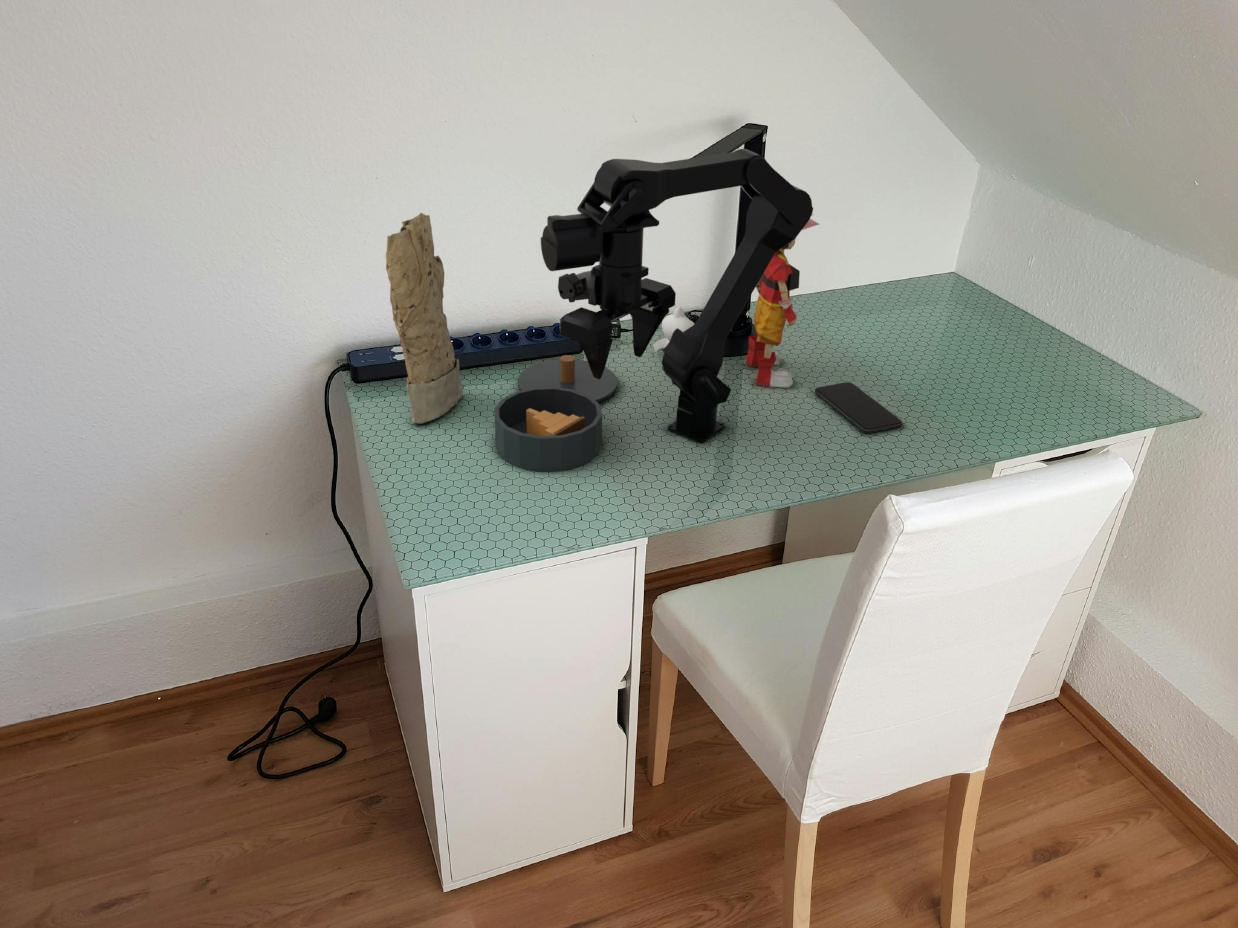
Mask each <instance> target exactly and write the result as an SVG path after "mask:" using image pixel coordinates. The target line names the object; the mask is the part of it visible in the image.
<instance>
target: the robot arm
mask: <svg viewBox="0 0 1238 928" xmlns="http://www.w3.org/2000/svg"><path fill="white" fill-rule="evenodd" d="M736 187H741V189H742V190H743V192H745V194H747V196H748V197H749V198H750V199H751V201H750V204H749V207H748V208H747V211H746V220H745V233H744V236H743V238H742V240H741V242H740V243H739V245H738V247H737V249H736V250H735V252H734V254H733V256H732V258H731V260H730V261H729V263H728V265H727V267H726V268H725V270H724V272H723V273H722V275H721V278H720V279H719V281H718V282H717V284H716V286H715V288H714V290H713V291H712V293H711V295H710V297H709V298H708V301H707V302H706V304H705V306H704V308H703V309H702V311H701V313H700V314H699V316H698V318H697V320H696V321H695V322H694V325H693V326H691V327H690V328H688V329H687V330H685V331H684V332H682V331H681V330H680V329H678V328H677V329H676V330H675V331H674V332H673V334H672V337H671V339H670V341H669V343H668V344H667V346H666V347H665V348H664V349H663V350H661V352H663V356H662V358H661V366H662V370H663V372H664V374H665V376H667V377H668V378H669V379H670V380H671V384H673V386H676V387H677V388H678V389H679V395H678V397H677V407H676V415H675V416H676V417H675V421H673V422H672V423H669V424H668V425H667V430H668V431H670V432H673V433H675V434H678V435H681V436H683V437H685V438H688V439H689V440H692V441H695V442H698V443H704V442H706V441H708V440H709V439H711V438H712V437H713V436H715V435H716V434H718V433H719V432H721V431H722V430H724V428H725V424H724V423H722V422H720V421H717V418H718V417H717V416H718V406H719V405H720V404H724V403H726V402H727V401H728V400H729V399H728V398H729V396H730V394H731V391H732V389H731V388H730V387H729V386H728V385H727V384H726V383H725V382H724V381H723V380H721V379H720V378H719V377H718V376H719V373H720V371H721V369H722V366H723V363H724V352H725V351H724V350H725V342H726V340H727V337H728V336H729V334H730V332H731V331H732V329H733V327H734V325H735V324H736V322H737V320H738V318H739V316H740V315H741V313H742V311H743V310H744V308H745V307H746V305H747V303H748V301H749V300H750V298H751V296H752V294H753V292H754V291H755V289H756V285H757V284H758V282H759V280H760V278H761V277H762V275H763V273H764V272H765V270H766V268H767V266H768V265H769V263H770V261H771V259H772V258H773V256H774V254H775V253H776V252H777V251H778V250H780V249H781V248H783V247H784V246H786V245H787V244H789V243H790V242H792V241H793V240H794V239H795V238H796V239H797V237H798V236H799V234H800V233H801V232H802V231H803V230H802V229H803V228H804V227H805V225H806V224H807V223H808V221H809V220H810V219H811V217H812V216H813V215H812V214H813V212H814V207H813V200H812V198H811V196H810V194H809V193H808V192H807V191H806V190H803V189H802V188H799V187H797V186H796V185H793V184H792V183H790V182H789V180H787V179H786V178H785V177H783V176H782V175H781V174H780V173H779V172H778V171H777V170H775V169H774V167H772V166H771V164H770V163H769V162H768V161H767V159H766V158H765V157H764V156H762V155H760V154H758V153H757V152H754V151H752V150H750V149H747V148H739V149H736V150H734V151H731V152H723V153H719V154H712V155H705V156H698V157H691V158H685V159H679V160H671V161H666V162H653V161H646V160H641V159H631V158H630V159H627V158H611V159H609V160H606V161H604V162H603V163H602V164H601V166H600V167H599V169H598V170H597V171H596V173H595V177H594V181H593V183H592V184H591V186H590V188H589V189H588V191H587V192H586V194H585V195H584V196H583V198H582V199H581V201H580V203H579V205H578V206H577V208H576V210H577V212H578V213H577V214H576V213H574V214H567V215H560V214H555V215H548V216H547V217H546V218H547V219H546V222H547V224H546V225H545V226H544V228H543V231H542V236H541V237H540V250H541V255H542V259H543V262H544V265H545V267H546V268H547V270H548V271H550V272H558V271H565V270H570V269H571V270H572V269H578V268H579V269H580V268H584V267H585V268H586V267H591V269H590V270H586V271H582V272H580V273H577V274H576V273H575V272H572V273H565V274H562V275H560V276H559V277H558V282H557V290H558V294H559V296H560V298H561V299H562V300H567V301H568V302H569V303H575V302H576V301H584V300H585V301H586V300H587V304H588V305H591V306H594V307H595V306H599V309H600V310H598V311H594V310H590V309H588V308H585V307H582V306H581V307H579V308H577V309H574V310H572V311H570V312H568V313H566V314H564V315H562V316H561V318H560V319H559V335H561V336H563V337H566V338H568V339H570V340H572V341H575V342H577V343H578V344H579V345H580V347H581V349H582V351H583V353H584V356H585V358H586V361H588V364H589V366H590V369H591V371H592V374H593V377H594V378H597V379H601V377H602V375H603V372H604V369H605V367H607V362H608V358H609V355H610V351H611V348H612V344H613V341H614V338H611V337H610V336H611V335H612V333H613V323H614V322H616V321H618V320H620V319H622V318H625V317H626V316H629V315H630V317H631V320H632V321H631V323H632V347H633V355H634V356H635V357H637V358H641V357H643V355H644V353H645V352H646V350H647V348H648V346H649V344H650V342H651V341H652V339H653V337H654V336H655V334H656V332H657V330H658V329H659V327H660V326H661V325H662V321H663V319H664V318H665V317H666V316H668V314H669V313H670V308H673V307H675V306H676V295H677V292H675V290H674V288H673V287H672V285H671V284H667V283H665V282H660V281H657V280H654V279H652V278H651V279H650V278H647V276H649V271H650V268H649V267H648V266H645V265H643V253H644V248H643V247H644V229H646V228H654V227H658V226H659V225H660V220H659V219H657V218H656V217H655V216H654V215H653V214H652V213H651V212H650V211H651V210H653V209H656V208H657V207H659V206H660V205H661V204H663V203H664V202H665V201H667V200H670V199H672V198H677V197H682V196H688V195H694V194H700V193H706V192H712V191H719V190H724V189H725V190H726V189H730V188H736ZM603 204H606V205H607V206H609V209H608V210H606V209H605V208H603V207H602V205H603ZM811 215H812V216H811ZM796 239H795V240H796ZM596 263H598V264H597V265H595V264H596ZM594 265H595V266H594Z"/></svg>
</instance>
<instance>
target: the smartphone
mask: <svg viewBox="0 0 1238 928" xmlns="http://www.w3.org/2000/svg"><path fill="white" fill-rule="evenodd" d="M814 393H815V394H816V395H817V396H818V397H819V398H821V399H822V400H823V401H824V402H825V403H826V404H828V405H829V406H830V407H832V409H834V410H835V411H836V412H838V413H839V414H840V415H841V416H842V417H843V418H845V419H846V420H847V421H848V422H850V423H851V424H853V425H854V426H855V427H856V428H857V429H859V430H860V431H861V432H862V433H864V434H873V433H877V432H882V431H886V430H892V429H897V428H900V427H902V426H903V424H904V423H903V421H902V420H901V419H900V418H899V417H898V416H897V415H895V414H894V413H892V412H891V411H890V410H889V409H887V408H886V407H884V406H883V405H882V404H880V403H879V402H878V401H876V400H875V399H874V398H873V397H871V396H870V395H869V394H868V393H866V392H865V391H864V390H862V389H861V388H860V387H858V386H857V385H856V384H854V383H853V382H849V381H846V382H845V381H843V382H839V383H834V384H828V385H822V386H817V387H815V389H814Z"/></svg>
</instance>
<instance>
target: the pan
mask: <svg viewBox="0 0 1238 928" xmlns="http://www.w3.org/2000/svg"><path fill="white" fill-rule="evenodd" d="M529 408H531V409H533V410H536V411H538V412H542V411H544V410H545V411H547V412H550V413H552V414H556V413H558V412H559V413H562V414H564V415H566V416H571V415H575V416H578V417H582V416H583V417H585V428H583V429H582V430H580V431H577V432H573V433H569V434H565V435H557V436H538V435H532V434H527V421H526V410H527V409H529ZM493 411H494V435H495V436H494V437H495V449H496V452H497V454H498V455H499V457H500V458H501V459H503V460H504V461H505V462H506V463H509V465H512V466H515V467H517V468H520V469H523V470H528V471H532V472H533V471H534V472H541V473H546V472H548V473H549V472H550V473H551V472H552V473H553V472H563V471H568V470H573V469H576V468H579V467H581V466H584V465H586V464H587V463H590V462H591V461H592V460H593V459H595V458H596V456H598V454H599V453H600V450H601V448H602V445H603V411H602V407H601V404H600V403H599V402H596V401H595V400H594V399H593V398H592V397H591V396H589V395H586V394H584V393H581V392H579V391H576V390H572V389H566V388H559V387H536V388H531V389H526V390H522V391H520V390H518V391H515V392H513V393H511V394H509V395H507V396H505V397H503V398H501V400H500V401H499V402H498V403H497V405H496V406H495V407H494V410H493Z"/></svg>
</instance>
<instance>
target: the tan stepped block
mask: <svg viewBox="0 0 1238 928" xmlns="http://www.w3.org/2000/svg"><path fill="white" fill-rule="evenodd" d="M526 421H527V434H532V435H538V436H557V435H565V434H569V433H573V432H577V431H580V430H582V429H583V428H585V417H583V416H582V417H578V416H575V415H571V416H566V415H564V414H562V413H559V412H558V413H556V414H552V413H550V412H547V411H545V410H544V411H542V412H538V411H536V410H533V409H531V408H529V409H527V410H526Z"/></svg>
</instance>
